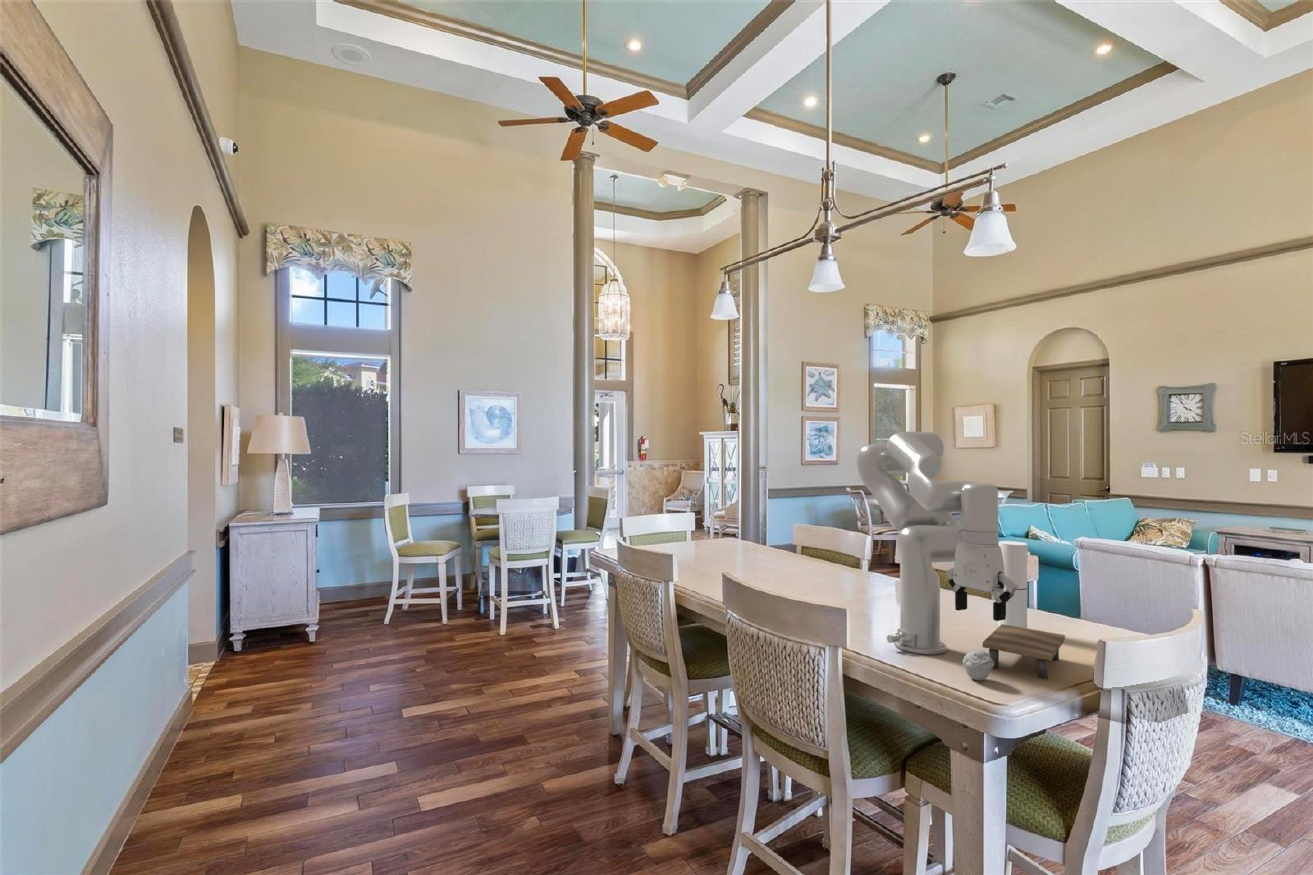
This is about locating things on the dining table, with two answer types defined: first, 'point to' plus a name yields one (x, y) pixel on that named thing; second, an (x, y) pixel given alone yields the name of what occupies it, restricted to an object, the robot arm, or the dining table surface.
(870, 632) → the dining table surface
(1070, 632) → the dining table surface
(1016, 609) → the cylindrical container
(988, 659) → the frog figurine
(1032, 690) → the dining table surface
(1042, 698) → the dining table surface
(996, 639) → the walnut shelf
